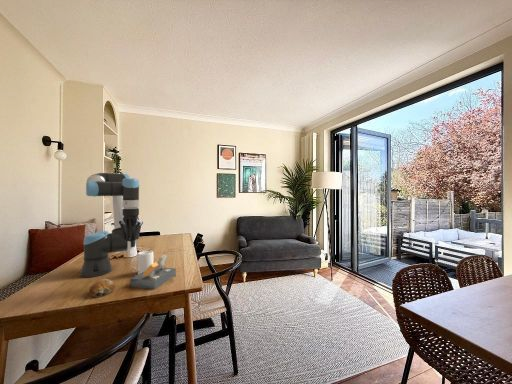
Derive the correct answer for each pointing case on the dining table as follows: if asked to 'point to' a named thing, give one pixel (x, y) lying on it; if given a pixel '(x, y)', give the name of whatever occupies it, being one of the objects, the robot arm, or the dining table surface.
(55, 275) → the dining table surface
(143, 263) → the mug
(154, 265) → the orange and white block
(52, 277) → the dining table surface
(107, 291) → the bread roll
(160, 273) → the panel
